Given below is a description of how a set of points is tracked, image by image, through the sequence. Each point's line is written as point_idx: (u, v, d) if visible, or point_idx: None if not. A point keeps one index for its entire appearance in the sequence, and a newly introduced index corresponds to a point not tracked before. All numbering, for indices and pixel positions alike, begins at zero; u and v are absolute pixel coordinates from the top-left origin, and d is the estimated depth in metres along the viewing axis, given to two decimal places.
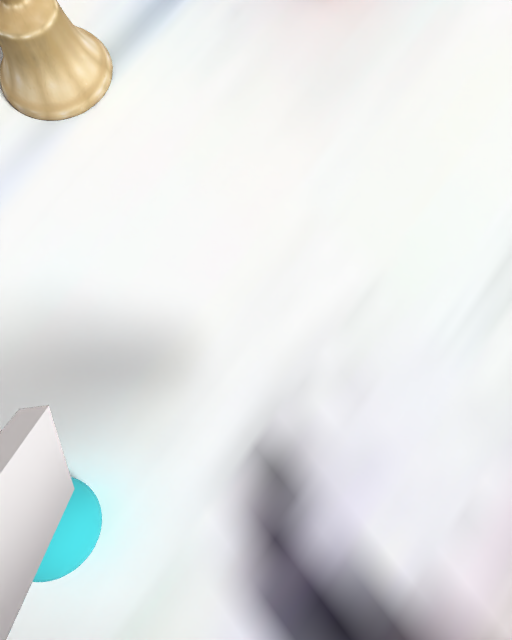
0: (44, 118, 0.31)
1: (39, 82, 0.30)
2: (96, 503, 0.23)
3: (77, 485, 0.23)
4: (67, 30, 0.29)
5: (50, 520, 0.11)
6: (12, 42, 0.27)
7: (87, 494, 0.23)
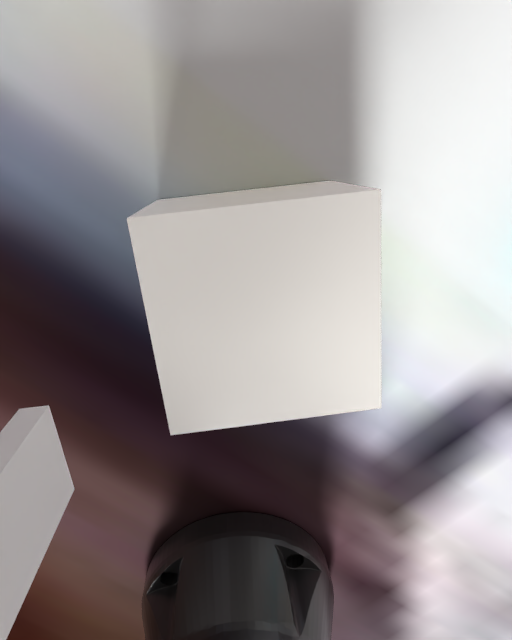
0: None
1: None
2: None
3: None
4: None
5: (50, 520, 0.11)
6: None
7: None
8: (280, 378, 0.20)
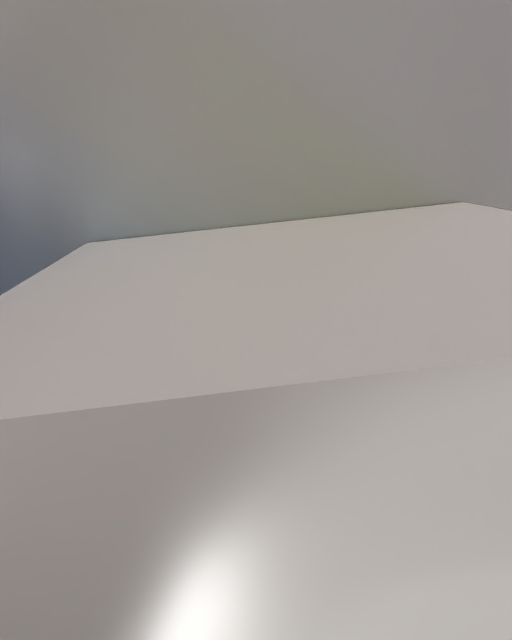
0: None
1: None
2: None
3: None
4: None
5: None
6: None
7: None
8: None
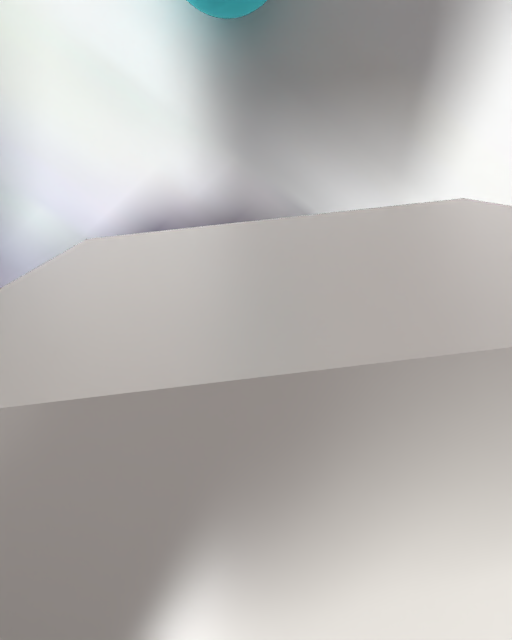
0: None
1: None
2: (255, 8, 0.17)
3: None
4: None
5: None
6: None
7: None
8: None
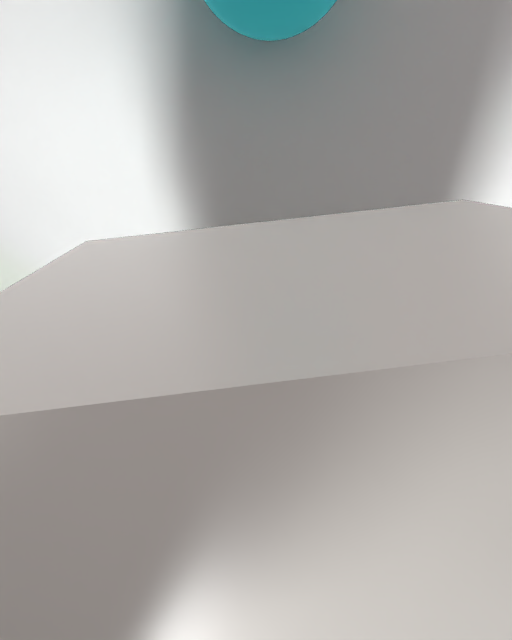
0: None
1: None
2: None
3: None
4: None
5: None
6: None
7: None
8: None
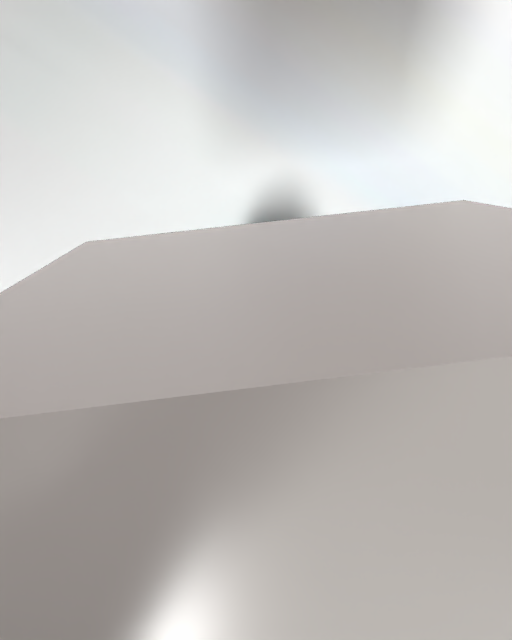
0: None
1: None
2: None
3: None
4: None
5: None
6: None
7: None
8: None
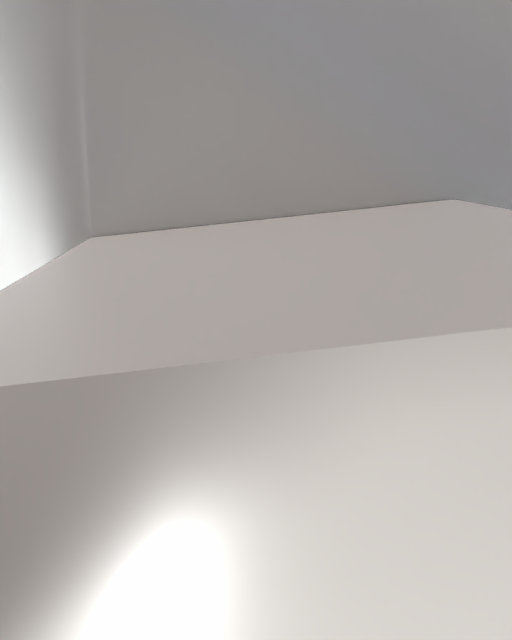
0: None
1: None
2: None
3: None
4: None
5: None
6: None
7: None
8: None
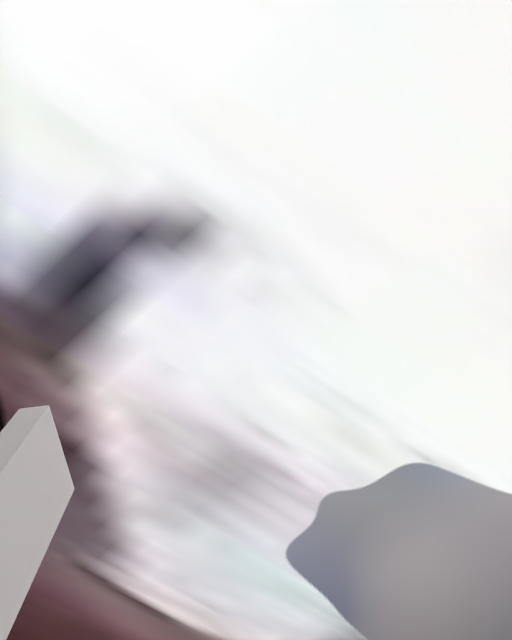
0: None
1: None
2: None
3: None
4: None
5: (51, 520, 0.11)
6: None
7: None
8: None
